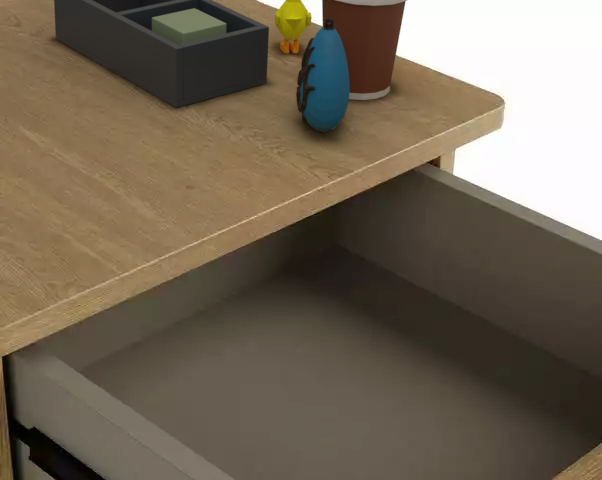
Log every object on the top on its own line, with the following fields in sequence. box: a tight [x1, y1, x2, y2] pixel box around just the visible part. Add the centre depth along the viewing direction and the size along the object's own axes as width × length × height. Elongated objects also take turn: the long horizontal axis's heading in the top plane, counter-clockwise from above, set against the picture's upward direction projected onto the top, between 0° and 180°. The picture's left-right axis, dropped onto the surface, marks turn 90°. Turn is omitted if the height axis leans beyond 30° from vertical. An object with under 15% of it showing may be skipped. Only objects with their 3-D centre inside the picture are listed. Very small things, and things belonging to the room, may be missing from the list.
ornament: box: [295, 18, 350, 133], centre depth 113 cm, size 8×5×10 cm, turn 2°
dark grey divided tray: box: [53, 0, 270, 108], centre depth 125 cm, size 11×20×6 cm, turn 41°
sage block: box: [152, 8, 227, 45], centre depth 122 cm, size 5×5×5 cm
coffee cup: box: [321, 0, 408, 101], centre depth 120 cm, size 9×9×12 cm
